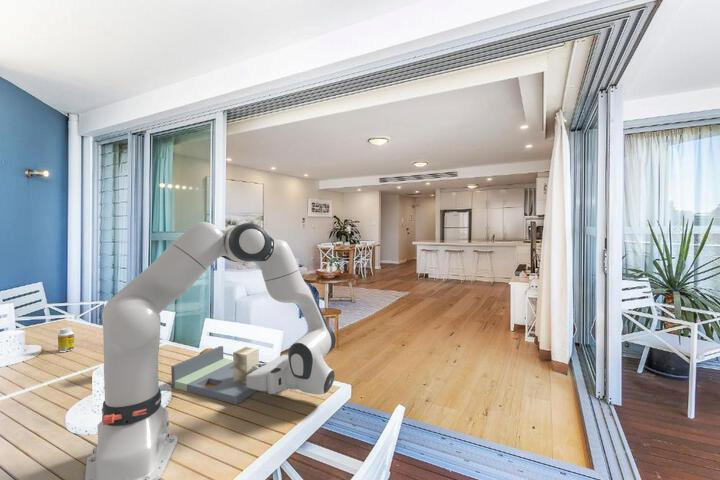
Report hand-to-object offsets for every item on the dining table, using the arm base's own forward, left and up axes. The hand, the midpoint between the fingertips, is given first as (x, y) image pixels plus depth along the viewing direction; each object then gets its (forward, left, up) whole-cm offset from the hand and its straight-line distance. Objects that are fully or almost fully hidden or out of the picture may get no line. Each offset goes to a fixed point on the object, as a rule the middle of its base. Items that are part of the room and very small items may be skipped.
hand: (254, 366), depth 116 cm
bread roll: (+37, +14, -8) cm, 40 cm away
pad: (+17, +15, -8) cm, 24 cm away
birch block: (+3, +3, -5) cm, 6 cm away
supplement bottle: (+77, +73, -8) cm, 106 cm away
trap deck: (+9, +8, -8) cm, 14 cm away
